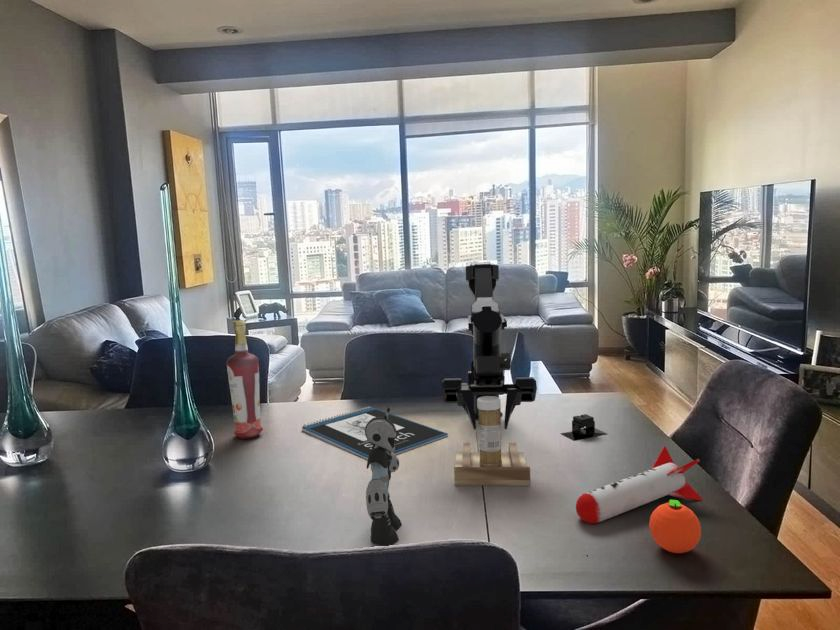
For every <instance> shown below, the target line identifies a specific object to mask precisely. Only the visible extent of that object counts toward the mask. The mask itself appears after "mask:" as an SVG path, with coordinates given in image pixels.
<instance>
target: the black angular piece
mask: <svg viewBox="0 0 840 630" xmlns="http://www.w3.org/2000/svg"><path fill="white" fill-rule="evenodd" d="M572 416H573V415H572ZM594 419H595V418H594V417H593V416H592V415H588V414H580V415H574V416H573V417H572V421H571V431H567V432H566V431H565V432H561V433H559V434H560V435H561V436H563V437H566V438H567V439H570V440H571V441H573V442H577V441H581V440H586V439H591V438H596V437H597V438H598V437H601V436H607V435H608V433H607V432H605V431H602V430H600V429H597V428H596V427H595V425H596V421H595V420H594Z"/></svg>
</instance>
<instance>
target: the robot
mask: <svg viewBox="0 0 840 630" xmlns="http://www.w3.org/2000/svg"><path fill="white" fill-rule="evenodd" d="M390 411H391V408H390V407H387V409H386V411H385V412H386V414H385V416H384V417H375V418H373V419H371V420H370V421H369V422H368V423H367V425H366V428H365V436H366V438H367V440H368V439H369V440H370V441H371V442H372V443H374V444H373V447H372V450H371V452H370V454H369V457H368V460H367V459H366V460H367V462H366V469H367V470H368V469H369V468H370V470H371V473H372V474H371V480H370V481H368V483H367V486H366V491H365V500H366V511H367V514H368V516H369V518H370V519H371V525H370V526H371V527H370V540H371V543H372V544H375V545H378V546H383V547H384V546H385V547H386V546H393V545H394V544H395V543H397V542H398V541H399V540H400V539H399V537H398V534H397V532H396V530H399V529H400V527H402V525H403V524H402V521H401V519H400V518H399V517H398V516H397V515H396V513H395V509H394V506H393V503H392V500H391V499H390V496H391V495H390V493H389V485H390V481H391V477H392V473H395V472H396V471H397V470H399V467H400V460H399V457H398V456H397V455H395V454H394V453H393V452H394V450H395V447H394V442H395V437H396V428H395V426H394V423H392V422H391V421H390V420H389V419H388V416H389V413H390Z"/></svg>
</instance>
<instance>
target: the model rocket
mask: <svg viewBox="0 0 840 630" xmlns="http://www.w3.org/2000/svg"><path fill="white" fill-rule="evenodd" d="M700 461H701V460H700V458H697V459H695V460H693V461H690V462H688V463H686V464H684V465H682V466H680V467H679V466H678V465H677V464H675V463H674V461H673V459H672V457H671V454H670V453H669V450H668V448H667V447H666V445H664V446H663V447H662V449H661V451H660V452H659V455H658V456H657V458H656V460H655V461H654V463H653V465H652V467H651V468H650V469H647V470H645V471H642V472H640V473H637V474H633V475H631V476H628V477H626V478H623V479H620V480H617V481H614V482H613V483H609V484H607V485H604V486H600V487H598V488H596V489H593V490H590V491H587V492H585V493H582V494H581V495H580V496H579V497H578V499H577V500H576V503H575V510H576V514H577V515H578V517H579V518H580V519H581V520H582V521H583V522H585V523H587V524H598V523H601V522H603V521H606V520H608V519H611V518H613V517H616V516H619V515H621V514H623V513H626V512H628V511H631V510H634V509H636V508H639V507H641V506H643V505H646V504H649V503H651V502H653V501H657V500H658V499H660V498H664V497H665V496H666V497H667V496H671V497H675V498H681V499H686V500H687V499H688V500H693V501H704V499H703V498H702V496H700V495H699V494H698V492H697V491H696V490H695V489H694V488H693V487H692V486H691V485H690V484H689V482H687V481H686V478H685V474H684V473H686V472H687V471H688V470H690V469H691V468H692V467H694V466H695V465H697V464H698V463H699V462H700Z"/></svg>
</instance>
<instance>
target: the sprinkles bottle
mask: <svg viewBox="0 0 840 630" xmlns="http://www.w3.org/2000/svg"><path fill="white" fill-rule="evenodd" d="M500 407H501V408H502V405H501V398H500V396H499V397H496V396H483V397H479V398H478V399H477V408H478V416H479V419H478V449H479V452H480V462H479V463H480V465H481V466H484V467H498V466H500V465H501V464H502V460H501V452H502V432H501V431H502V430H501V427H502V426H501V416H500Z"/></svg>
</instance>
